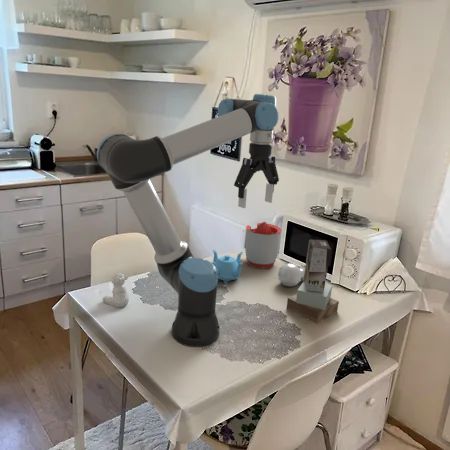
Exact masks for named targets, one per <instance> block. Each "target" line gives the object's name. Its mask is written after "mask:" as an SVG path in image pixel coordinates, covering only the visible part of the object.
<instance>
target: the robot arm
mask: <svg viewBox="0 0 450 450" xmlns="http://www.w3.org/2000/svg"><path fill="white" fill-rule="evenodd" d="M252 97H253V98H252V99H238V98H236V99H235V98H224V99H221V100H220V102H219V104H218V107H217V117H214V118H212V119H209V120H206V121H203V122H201V123H199V124H195V125H194V126H191V127H189V128H185V129H183V130H180V131H178V132H175V133H172V134H170V135H166V136H165V137H160V136H157V135H156V136H154V137H151V138H147V139H140V140H138V139H134V138H132V137H131V136H129V135H127V134H123V133H114V134H111V135H108V136H106V137H104V138H103V139H102V140H101V141H100V143H99V145H98V147H97V151H96V157H97V158H96V159H97V162H98V164H99V166H100V167H101V169H102V170H104V171H105V172H106V174H107V176H108V177H109V179H110V182H111V183H112V185H113V187H114V188H115V189H116V190H117V191H121V192H123V195H124V196H125V198H126V200H127V202H128V203H129V205H130V207H131V209H132V211H133V212H134V214H135V216H136V218H137V220H138V222H139V223H140V225H141V227H142V229H143V231H144V233H145V235H146V237H147V238H148V240H149V242H150V244H151V245H152V247H153V249H154V252H155V254H154V261H155V263H156V267H157V270H158V272H159V274H160V276H161V278H163V279H164V280H165V282H167V283H168V284H169V285H170V286H171V287H172V289H174V291H175V292H176V293H177V295H178V298H177V299H178V300H177V302H178V303H177V312H176V314H175V318H174V320H173V322H172V324H171V336H172V338H173V339H174V340H175V341H176V342H178V343H179V344H182V345H184V346H188V347H204V346H208V345H211V344H214V343H215V342H216V341H217V340H218V338H219V336H220V329H221V328H220V324H219V321H218V317H217V314H216V305H217V293H218V292H217V291H218V290H217V289H218V283H219V279H218V276H217V269H216V267H215V265H214V264H213V263H211V262H212V261H209V260H208V259H205V260H204V259H203V258H201V257H195V256H194V255H193V253H192V251H191V249H190V247H189V245H188V243H187V241H184V240H183V239H182V240H181V239H180V238H179V235H178V233H177V231H176V228H175V227H174V225H173V223H172V221H171V219H170V217H169V215H168V213H167V211H166V208H165V207H164V205H163V203H162V201H161V199H160V197H159V195H158V193H157V191H156V188H155V187H154V185H153V183H152V181H151V179H154V178H156V177H159V176H161V175H163V174H165V173H168V172H169V171H172V169H173V166H175V165H177V164H179V163H182V162H183V161H187V160H189V159H191V158H193V157H196V156H198V155H200V154H201V155H202V154H204V153H205V152H208V151H211V150H213V149H215V148H218V147H220V146H223V145H225V144H228V143H229V142H232V141H235V140H237V139H239V138H241V137H244V136H247V135H249V141H250V142H249V146H248V148H249V149H248V153H249V155H250V157H249V158H246V157H243V159H242V162H241V163H242V164H241V166H240V169H239V171H238V173H237V176H236V178H235V181H234V183H233V187H236V188H238V194H237V197H238V205H237V206H238V207H239V208H243V209H246V207H247V205H246V204H247V192H248V188H247V186H248V184H249V183H250V181H251V179H252V178H253V176H254V175H255V174H256V173H257V172H261V171H262V173H263V175H264V177H265V179H266V181H267V183H266V185H265V195H264V202H266V203H270V204H272V203H273V194H274V191H275V190H274V189H275V185H277V184H278V183H279V181H280V178H279V174H278V170H277V165H276V157H275V156H272V151H273V150H272V149H273V145H272V144H271V143H273V138H274V137H273V136H274V128H276V126H277V124H278V123H279V120H280V114H279V113H280V112H279V109H278V107H277V98H276V96H275V95H274V94H264V93H263V94H261V93H254V95H253V96H252Z"/></svg>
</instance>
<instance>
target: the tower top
mask: <svg viewBox="0 0 450 450" xmlns="http://www.w3.org/2000/svg"><path fill="white" fill-rule="evenodd" d="M332 289H333V285H330V284H326V283H325V287H324V292H317V291H308V290H306V287H305V284H304V281H302V283H301V285H300V286H299V287H298V288H297V293H296V294H297V299H296V303H299V304H303V305H307V306H310V307H314V308H318V309H322V310H325V308H326V306H327V304H328V302H329V300H330V298H332V297H331V296H332Z"/></svg>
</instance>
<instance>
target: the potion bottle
mask: <svg viewBox="0 0 450 450" xmlns="http://www.w3.org/2000/svg"><path fill="white" fill-rule="evenodd" d="M305 266H306V265H302V264H301V265H300V266H298V265H297V264H294V263H291V262H288V263H285V264H284V265H282V266H281V267H279V268H278V269H279V270H278V274H277V276H278V280H279V282H280V283H281V284H282V285H283V286H285V287H289V288H292V287H295V286H297V285H298V284H299V283H300V282H304V274H305Z"/></svg>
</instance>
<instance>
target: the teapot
mask: <svg viewBox="0 0 450 450" xmlns="http://www.w3.org/2000/svg"><path fill="white" fill-rule="evenodd" d="M212 252H213V261H210V262H211V263H213V264H214V265H215V267H216V269H217V276H218V280H220V281H222V283H224V284H228V283H229V281H237V280H238V279H237V278H238V277H239V276H240V275H241V273H242V265H243V264H244V262H241V256H242V255H243V254H244V252H243V251H240V252H239V253H238V255H237V257H236V258H235V257H233V256H231V255H229V254H225V255H223V256H220V257H218V253H217V251H216V250H215V249H212Z"/></svg>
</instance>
